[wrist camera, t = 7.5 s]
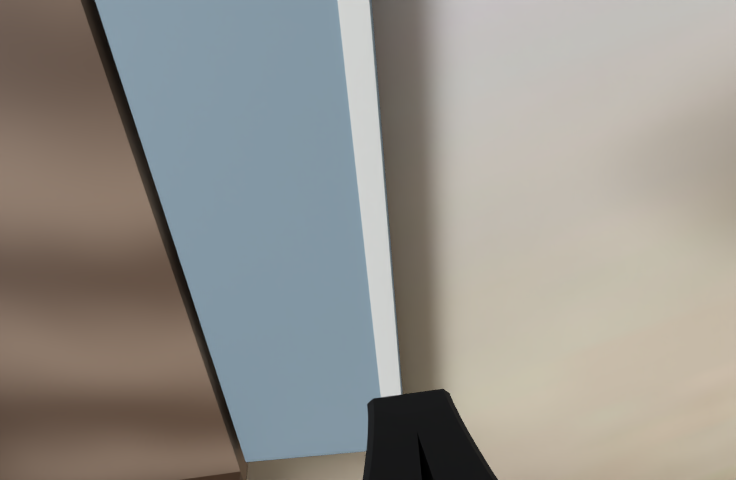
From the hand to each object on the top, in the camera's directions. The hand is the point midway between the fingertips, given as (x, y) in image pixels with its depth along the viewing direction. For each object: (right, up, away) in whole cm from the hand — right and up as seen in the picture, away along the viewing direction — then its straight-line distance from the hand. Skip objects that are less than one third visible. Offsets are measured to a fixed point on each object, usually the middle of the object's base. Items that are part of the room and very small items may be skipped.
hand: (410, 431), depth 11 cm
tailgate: (-6, +3, +6) cm, 9 cm away
